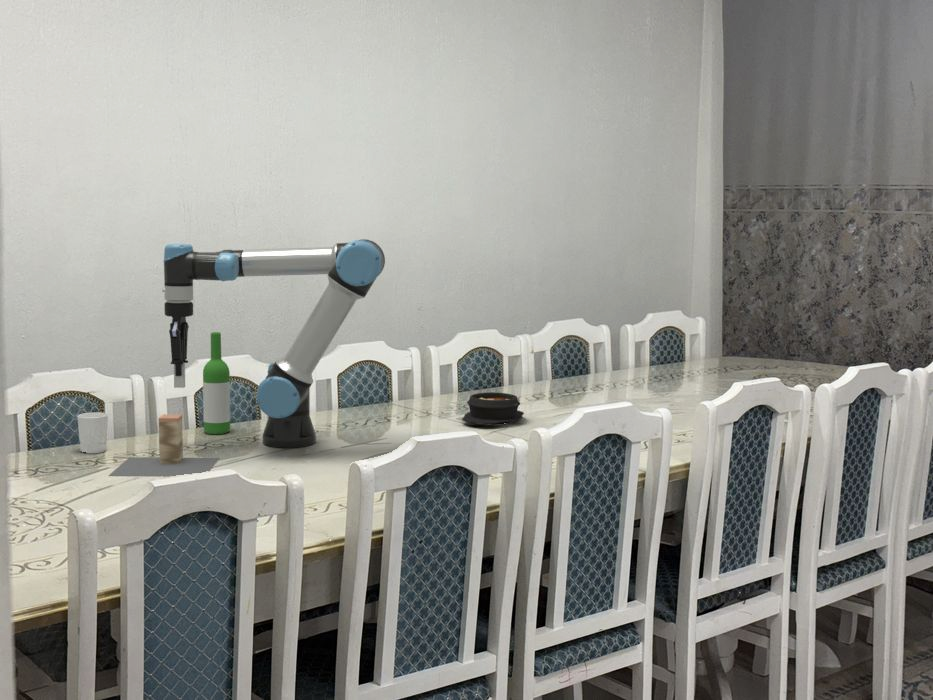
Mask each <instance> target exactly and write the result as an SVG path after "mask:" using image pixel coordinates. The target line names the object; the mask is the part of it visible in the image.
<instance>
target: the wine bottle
mask: <svg viewBox="0 0 933 700" xmlns="http://www.w3.org/2000/svg"><path fill="white" fill-rule="evenodd" d="M230 379H231V378H230V368H229V366H228V364H227V363H226V362H225V360H223V359H222V333H221V332H217V331H213V332H211V333H210V360H208V361H207V362H206V364H205V365H204V367H203V369H202V388H203V389H202V397H203V398H202V401H203V402H202V403H203V413H202V414H203V430H204V433H206V434H208V435H224V433H225V434H227V432H228V433H229V432H230V431H231V389H230V388H231V386H230V385H231V383H230V382H231V380H230Z"/></svg>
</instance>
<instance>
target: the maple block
mask: <svg viewBox="0 0 933 700" xmlns="http://www.w3.org/2000/svg"><path fill="white" fill-rule="evenodd" d="M183 437H184V436H183V414H165V413H164V414H162V415H160V416H159V417H158V448H159V449H158V450H159V451H158V452H159V453H158V455H159V456H158V457H159V462H160V463H180V462H181V461H182V459H183V458H184V447H183V446H184V443H183V441H184V439H183Z"/></svg>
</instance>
